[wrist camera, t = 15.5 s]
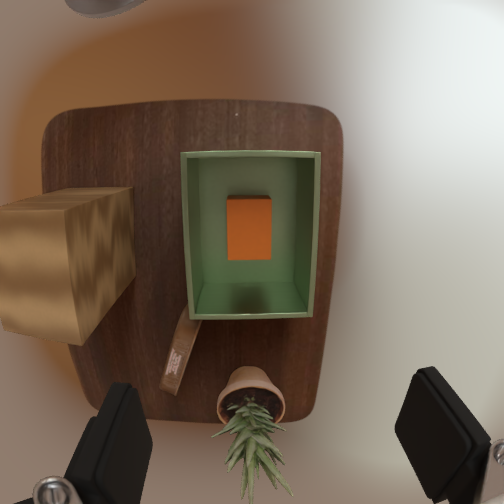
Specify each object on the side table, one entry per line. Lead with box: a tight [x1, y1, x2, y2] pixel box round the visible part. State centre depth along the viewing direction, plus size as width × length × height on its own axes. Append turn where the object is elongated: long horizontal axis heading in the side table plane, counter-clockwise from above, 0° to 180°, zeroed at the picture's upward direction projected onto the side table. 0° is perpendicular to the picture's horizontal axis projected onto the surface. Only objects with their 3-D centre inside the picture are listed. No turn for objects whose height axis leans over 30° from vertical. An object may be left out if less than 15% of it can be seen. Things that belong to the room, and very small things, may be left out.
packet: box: [226, 195, 272, 260], centre depth 38 cm, size 7×5×4 cm
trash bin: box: [181, 151, 321, 319], centre depth 36 cm, size 13×17×10 cm
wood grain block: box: [0, 187, 136, 346], centre depth 31 cm, size 12×10×18 cm
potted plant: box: [211, 366, 293, 504], centre depth 36 cm, size 10×10×25 cm
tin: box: [159, 303, 203, 396], centre depth 40 cm, size 15×3×8 cm, turn 159°
